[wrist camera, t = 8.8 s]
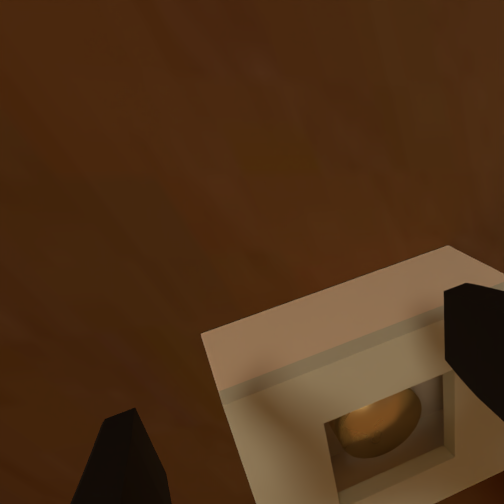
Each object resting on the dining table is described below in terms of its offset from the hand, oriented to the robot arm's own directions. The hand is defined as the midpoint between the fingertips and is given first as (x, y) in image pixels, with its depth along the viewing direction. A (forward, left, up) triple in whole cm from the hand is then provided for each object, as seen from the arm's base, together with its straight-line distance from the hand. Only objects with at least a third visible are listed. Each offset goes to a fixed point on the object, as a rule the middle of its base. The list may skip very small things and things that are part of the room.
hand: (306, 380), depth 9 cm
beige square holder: (-5, +11, -10) cm, 16 cm away
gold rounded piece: (-5, +11, -10) cm, 15 cm away
